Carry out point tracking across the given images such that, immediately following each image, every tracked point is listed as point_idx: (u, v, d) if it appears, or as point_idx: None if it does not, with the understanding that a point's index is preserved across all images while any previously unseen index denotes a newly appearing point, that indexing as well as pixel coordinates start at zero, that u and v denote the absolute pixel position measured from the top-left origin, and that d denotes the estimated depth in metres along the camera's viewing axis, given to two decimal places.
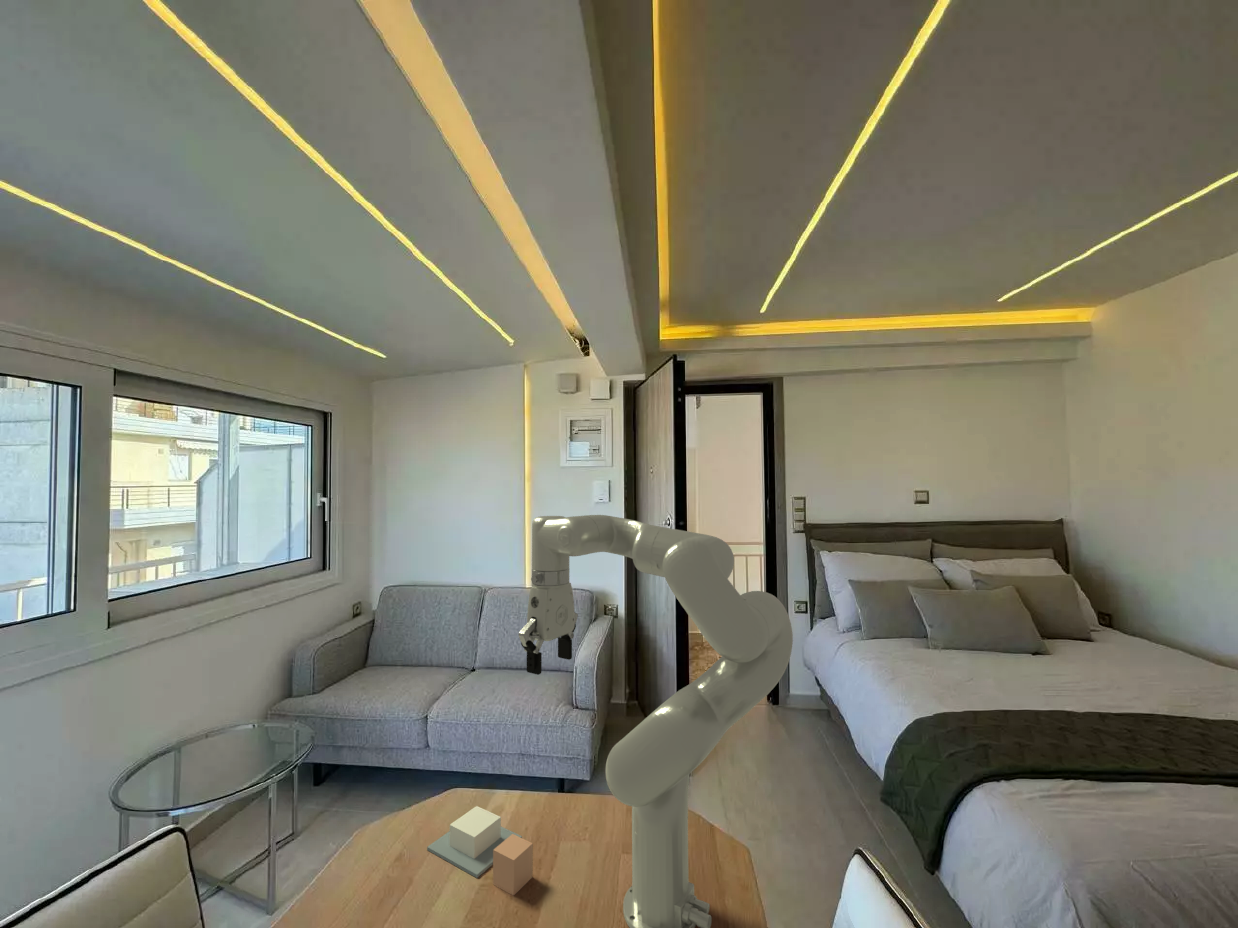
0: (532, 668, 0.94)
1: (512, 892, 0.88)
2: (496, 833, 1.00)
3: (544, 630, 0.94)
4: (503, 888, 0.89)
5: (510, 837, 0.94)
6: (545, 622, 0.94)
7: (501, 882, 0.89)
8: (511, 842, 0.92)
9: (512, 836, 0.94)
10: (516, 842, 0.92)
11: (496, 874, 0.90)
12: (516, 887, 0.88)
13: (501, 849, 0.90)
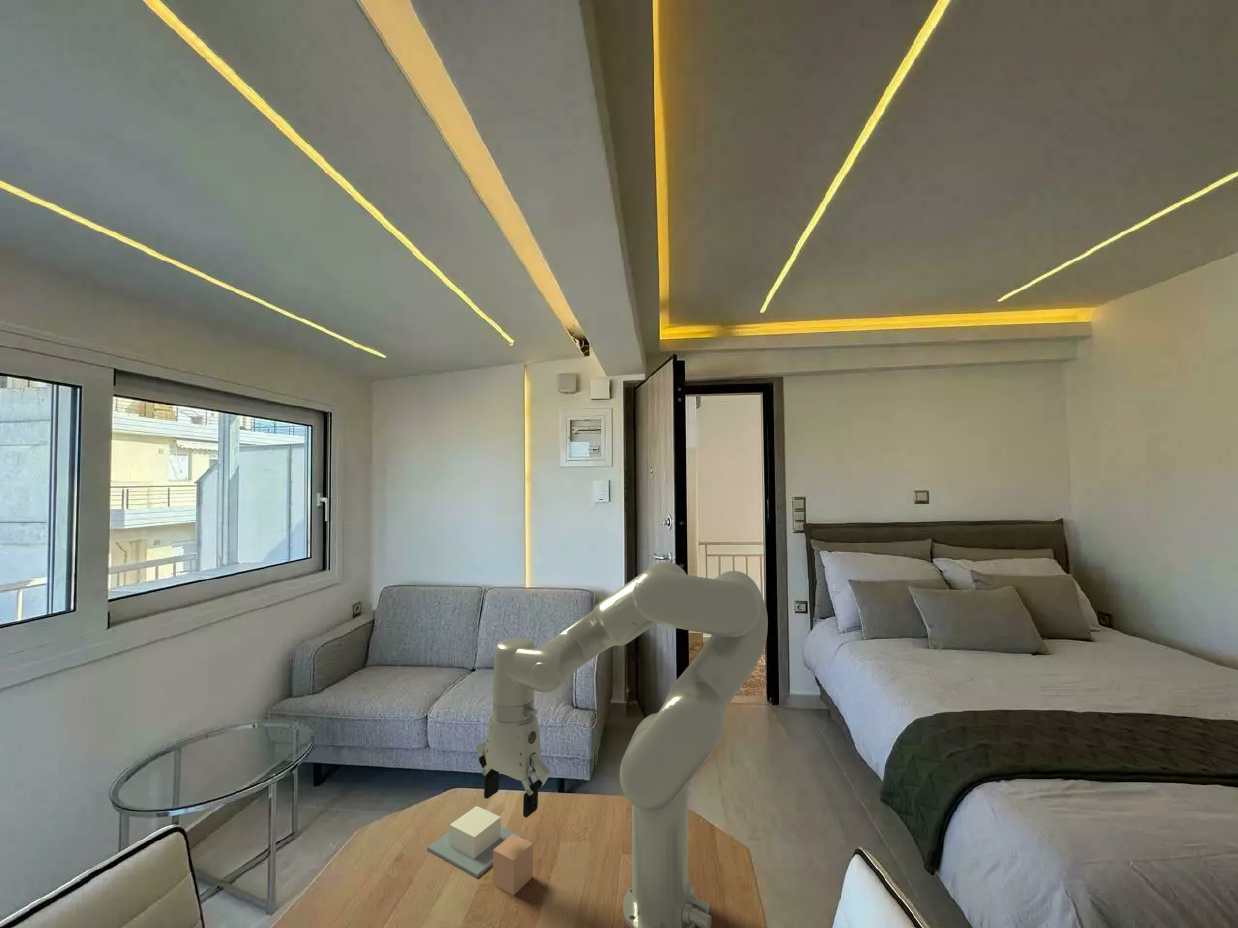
0: (536, 806, 0.89)
1: (512, 892, 0.88)
2: (496, 833, 1.00)
3: (540, 759, 0.92)
4: (503, 888, 0.89)
5: (510, 837, 0.94)
6: None
7: (501, 882, 0.89)
8: (511, 842, 0.92)
9: (512, 836, 0.94)
10: (516, 842, 0.92)
11: (496, 874, 0.90)
12: (516, 887, 0.88)
13: (501, 849, 0.90)
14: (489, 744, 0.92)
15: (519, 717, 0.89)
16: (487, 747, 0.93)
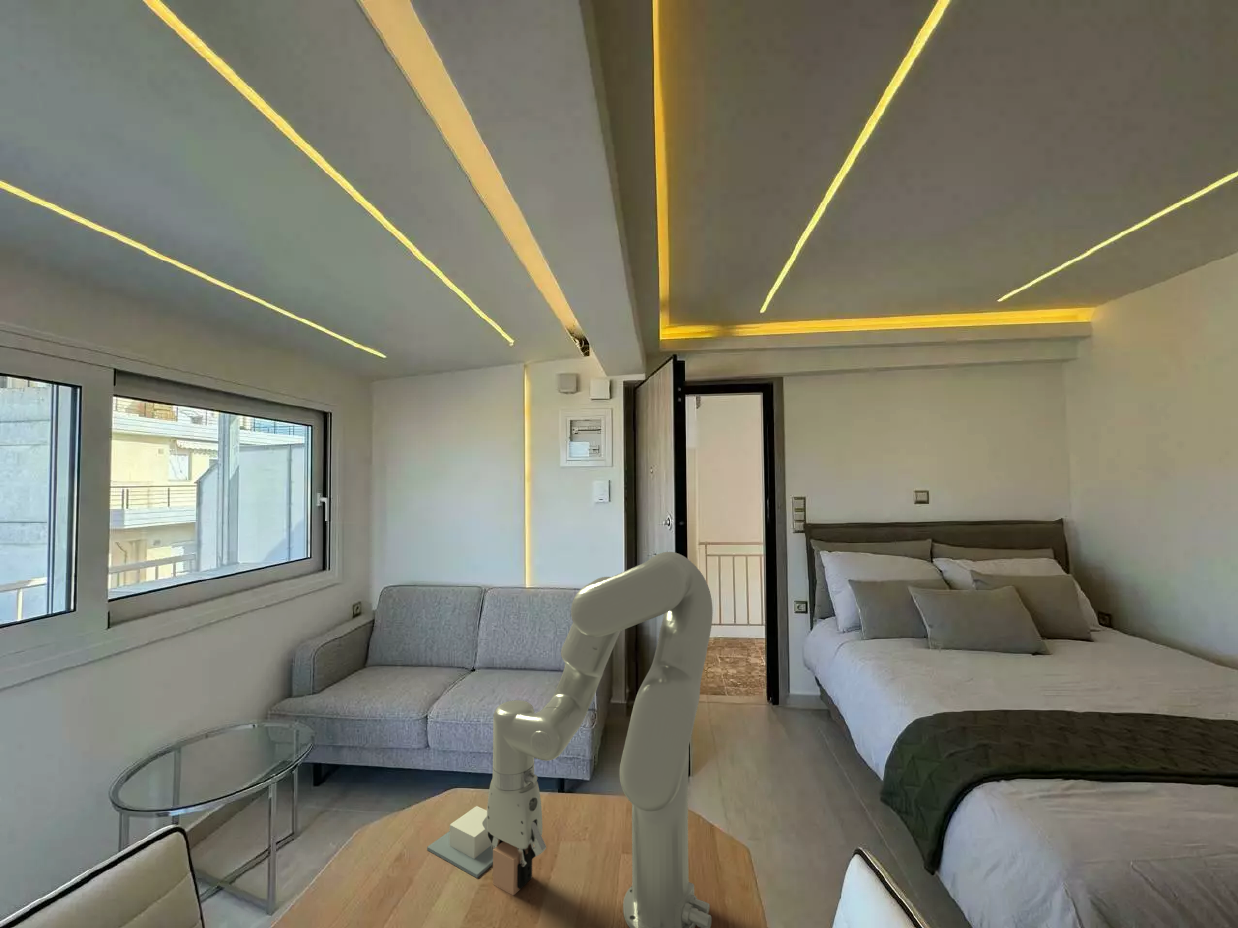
0: (530, 876, 0.89)
1: (512, 892, 0.88)
2: None
3: None
4: (503, 888, 0.89)
5: None
6: None
7: (501, 882, 0.89)
8: None
9: None
10: None
11: (496, 874, 0.90)
12: (516, 887, 0.88)
13: (501, 849, 0.90)
14: (490, 811, 0.92)
15: (519, 784, 0.89)
16: (488, 813, 0.92)
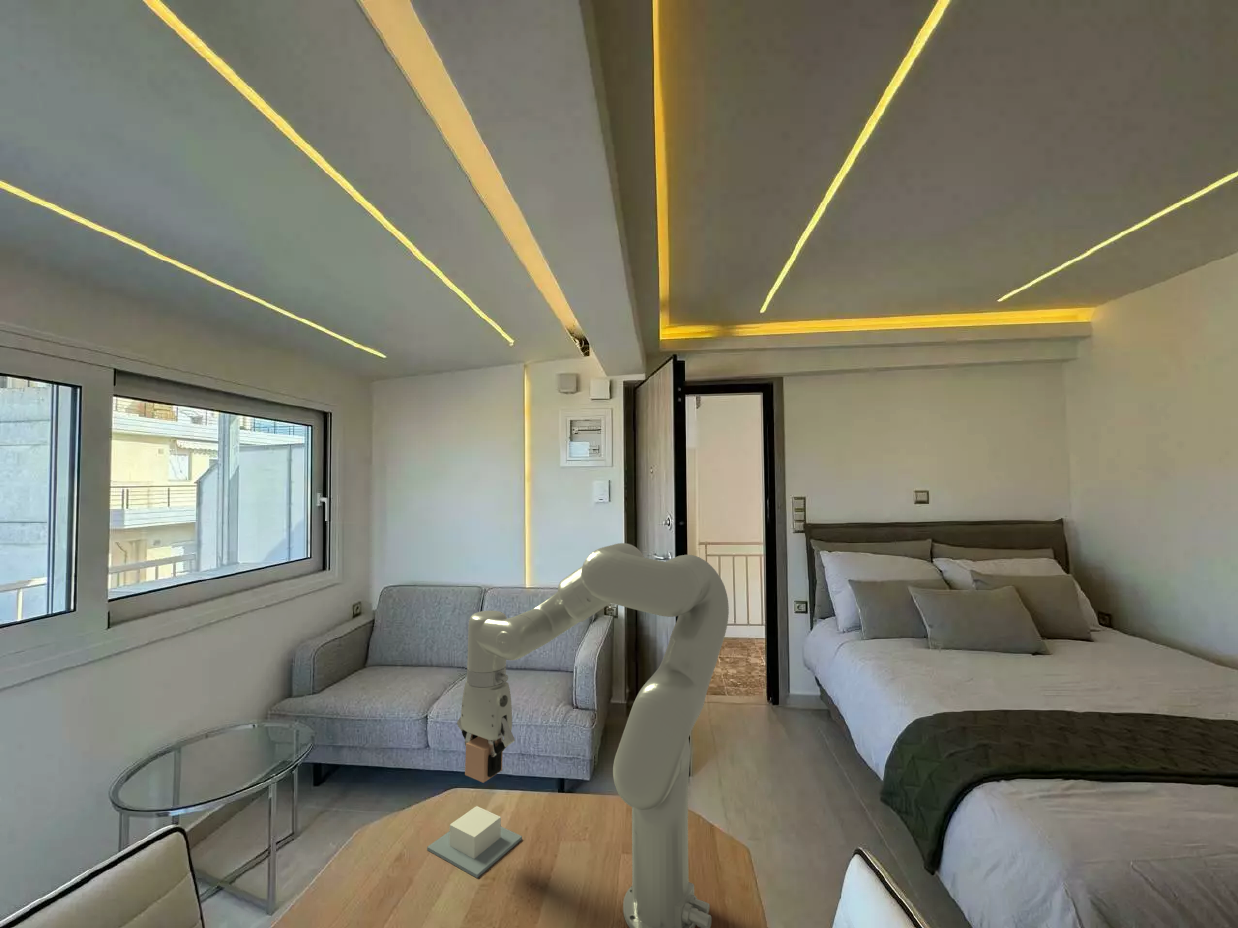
0: (499, 767, 0.97)
1: (482, 779, 0.95)
2: (496, 833, 1.00)
3: (511, 722, 0.99)
4: (474, 777, 0.96)
5: None
6: None
7: (472, 772, 0.97)
8: (483, 738, 1.00)
9: None
10: None
11: (468, 765, 0.97)
12: (486, 775, 0.96)
13: (473, 743, 0.98)
14: (464, 709, 0.99)
15: (491, 682, 0.96)
16: (462, 711, 0.99)
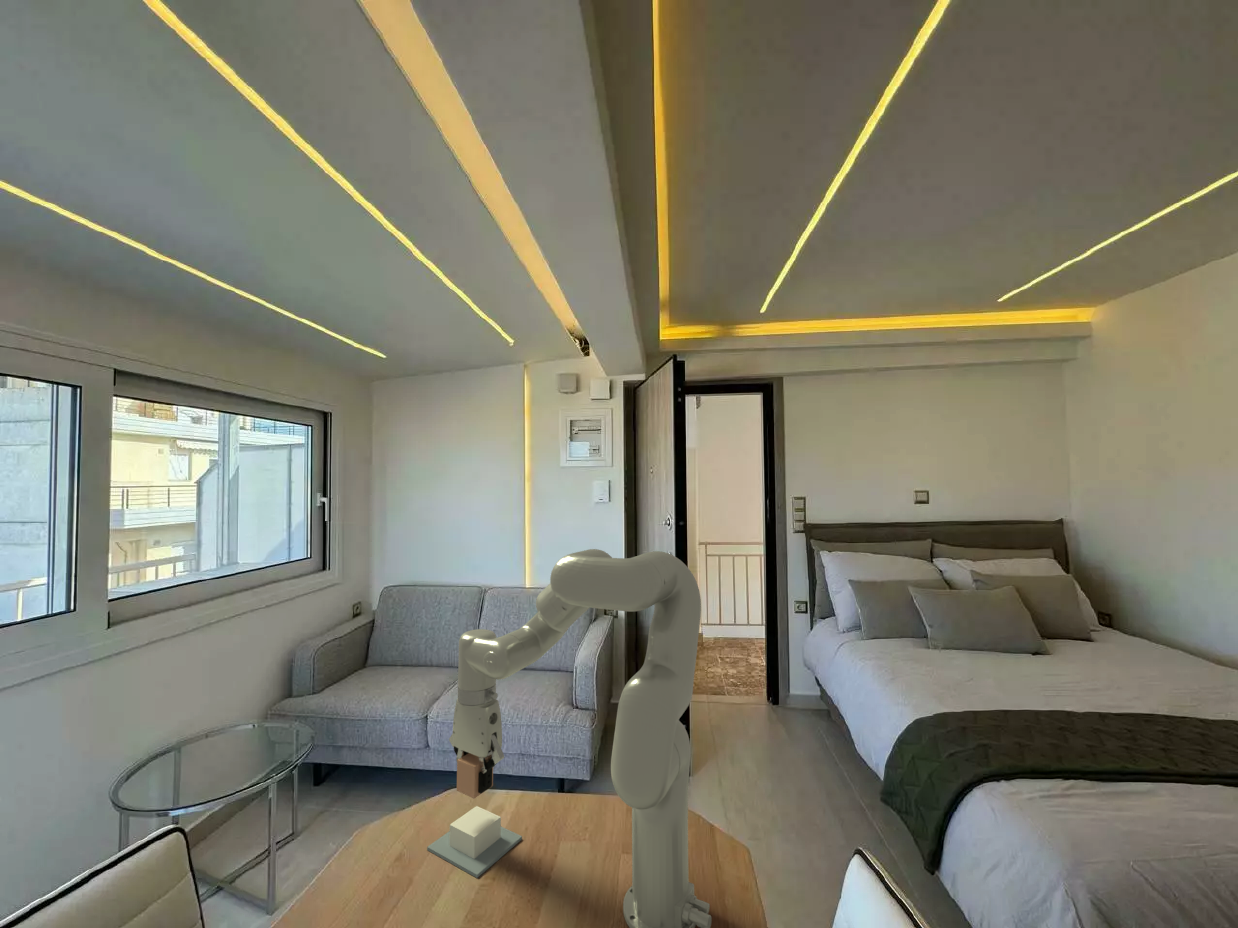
0: (490, 783, 0.99)
1: (473, 795, 0.98)
2: (496, 833, 1.00)
3: (501, 739, 1.01)
4: (465, 793, 0.99)
5: None
6: None
7: (464, 788, 0.99)
8: None
9: None
10: None
11: (459, 781, 1.00)
12: (477, 791, 0.98)
13: (464, 759, 1.00)
14: (455, 726, 1.02)
15: (481, 700, 0.99)
16: (453, 729, 1.02)
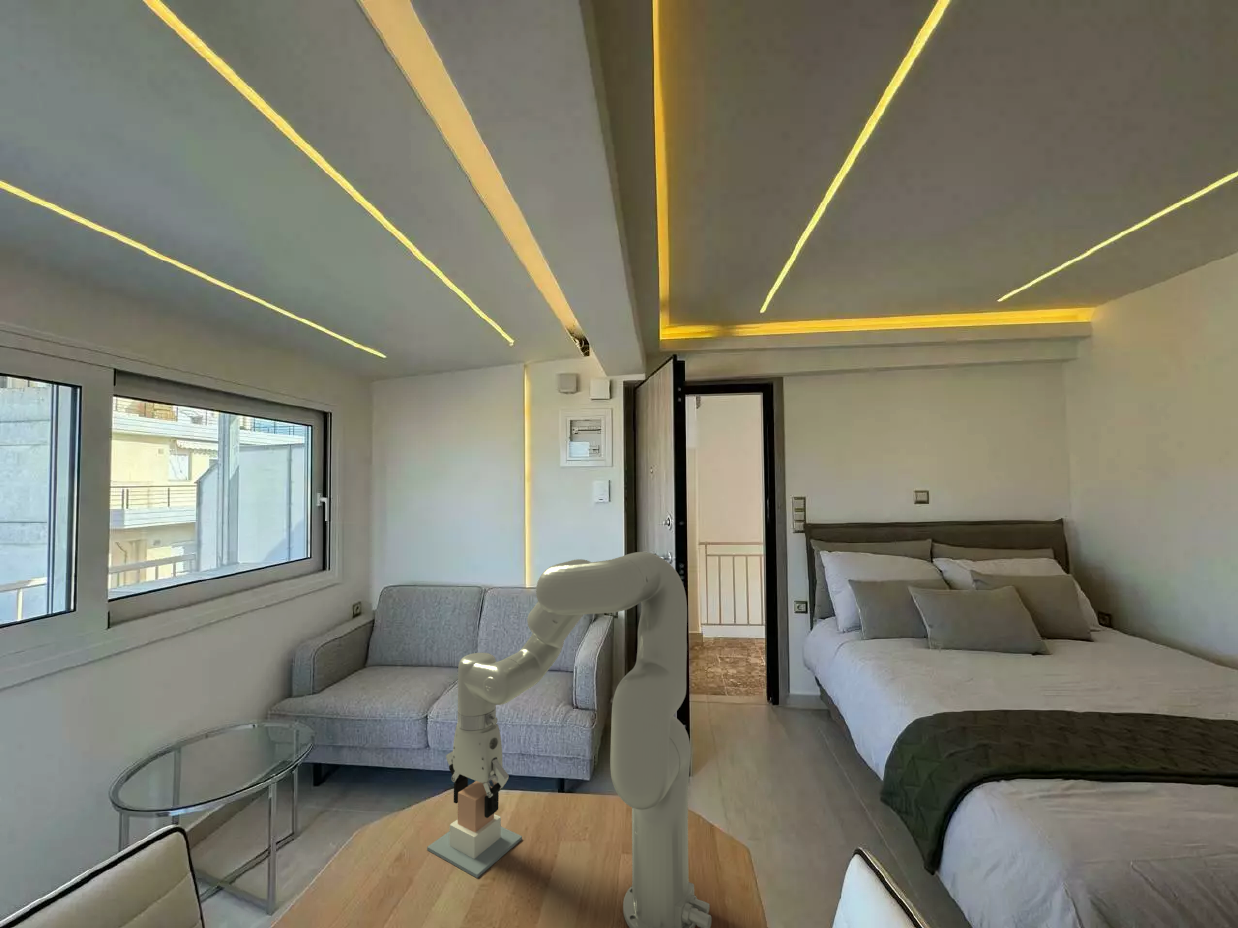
0: (496, 807, 0.98)
1: (474, 829, 0.97)
2: (496, 833, 1.00)
3: None
4: (466, 826, 0.98)
5: (474, 783, 1.03)
6: None
7: (465, 821, 0.98)
8: (475, 787, 1.02)
9: (476, 782, 1.03)
10: (479, 786, 1.02)
11: (460, 814, 0.99)
12: (478, 825, 0.98)
13: (465, 792, 1.00)
14: (455, 751, 1.01)
15: (481, 725, 0.98)
16: (454, 753, 1.01)
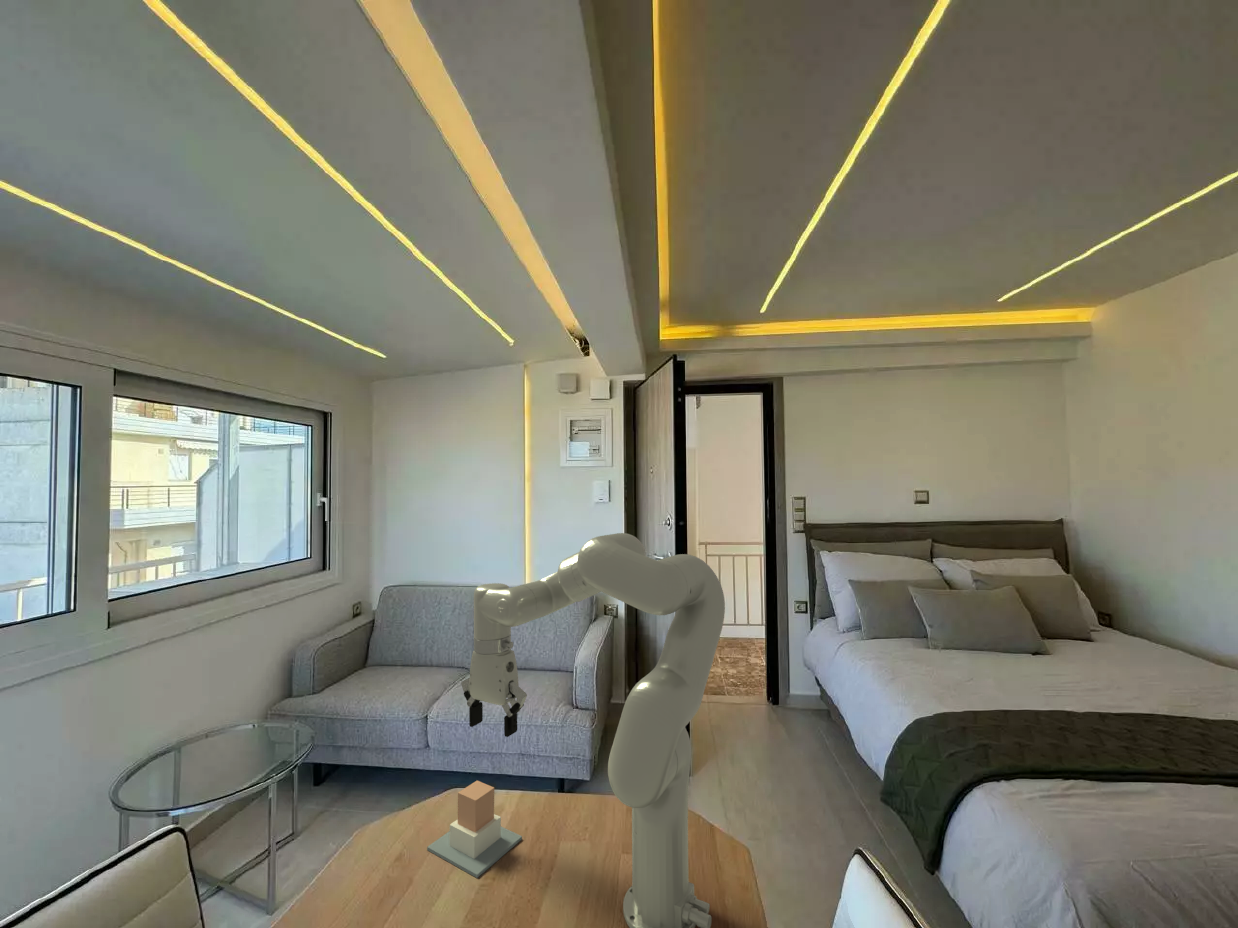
0: (516, 727, 1.01)
1: (474, 829, 0.97)
2: (496, 833, 1.00)
3: None
4: (466, 826, 0.98)
5: (474, 783, 1.03)
6: None
7: (465, 821, 0.98)
8: (475, 787, 1.02)
9: (476, 782, 1.03)
10: (479, 786, 1.02)
11: (460, 814, 0.99)
12: (478, 825, 0.98)
13: (465, 792, 1.00)
14: (472, 677, 1.04)
15: (497, 649, 1.01)
16: (470, 680, 1.04)
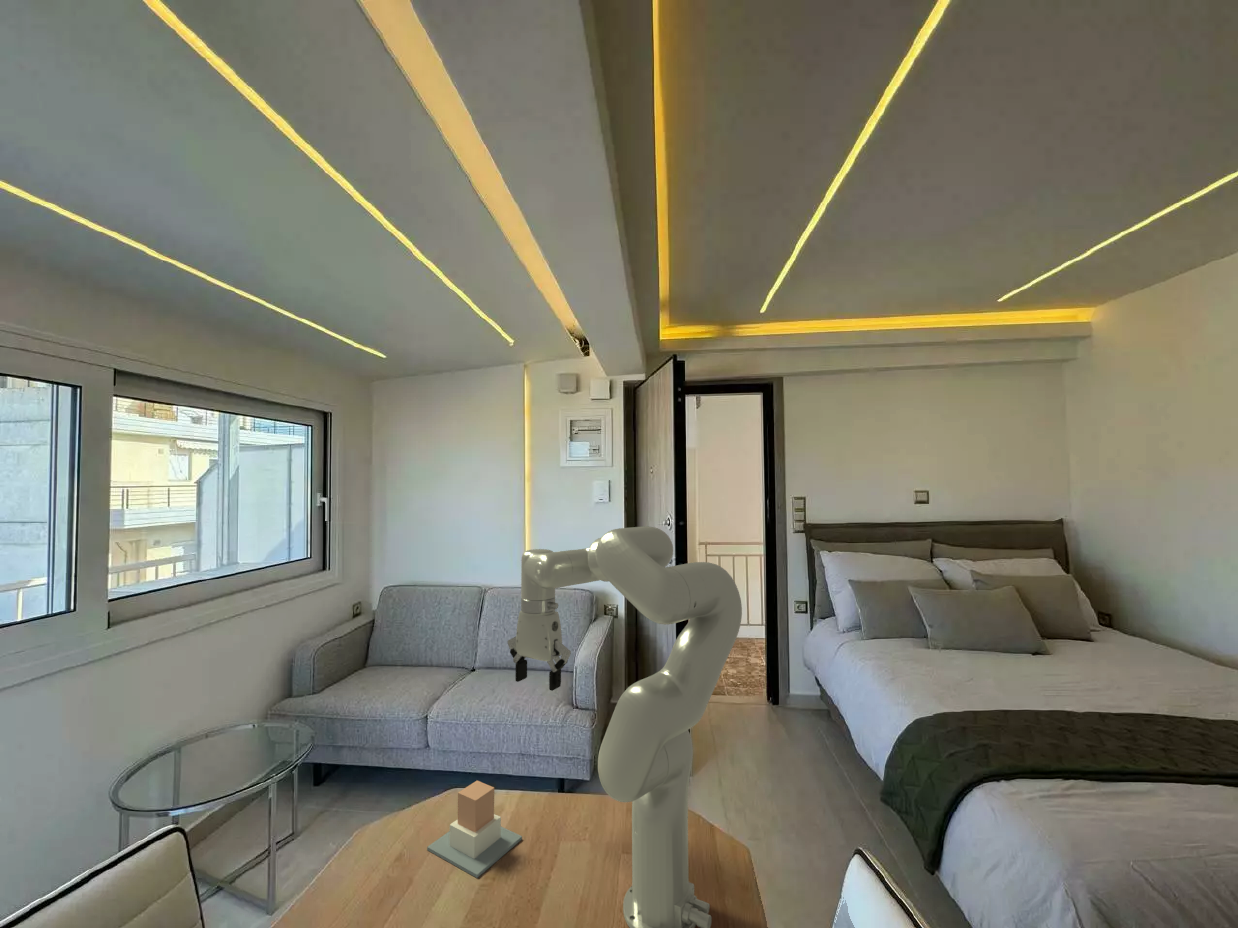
0: (560, 682, 1.08)
1: (474, 829, 0.97)
2: (496, 833, 1.00)
3: None
4: (466, 826, 0.98)
5: (474, 783, 1.03)
6: None
7: (465, 821, 0.98)
8: (475, 787, 1.02)
9: (476, 782, 1.03)
10: (479, 786, 1.02)
11: (460, 814, 0.99)
12: (478, 825, 0.98)
13: (465, 792, 1.00)
14: (519, 635, 1.11)
15: (544, 609, 1.08)
16: (517, 638, 1.11)
